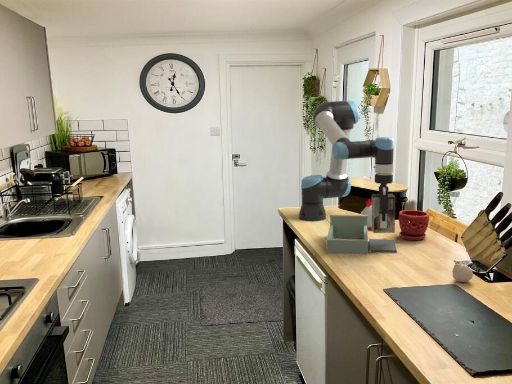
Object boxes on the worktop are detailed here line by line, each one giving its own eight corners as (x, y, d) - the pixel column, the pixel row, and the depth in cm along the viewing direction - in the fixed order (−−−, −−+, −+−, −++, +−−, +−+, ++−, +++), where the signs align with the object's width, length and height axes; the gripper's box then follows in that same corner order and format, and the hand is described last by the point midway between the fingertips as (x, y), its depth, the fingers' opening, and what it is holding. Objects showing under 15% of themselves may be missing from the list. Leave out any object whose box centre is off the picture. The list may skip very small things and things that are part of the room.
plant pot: (423, 243, 202) (424, 217, 200) (394, 239, 210) (394, 213, 208) (431, 236, 212) (433, 211, 210) (404, 232, 220) (404, 208, 218)
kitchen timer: (353, 225, 235) (353, 197, 232) (374, 221, 241) (374, 194, 238) (370, 232, 223) (370, 202, 220) (392, 227, 228) (393, 198, 225)
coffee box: (392, 229, 201) (392, 193, 198) (394, 233, 195) (395, 196, 192) (371, 229, 202) (371, 193, 199) (373, 233, 196) (373, 196, 193)
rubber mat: (369, 241, 209) (369, 238, 208) (394, 241, 206) (394, 239, 206) (369, 251, 194) (369, 249, 194) (396, 252, 192) (396, 250, 192)
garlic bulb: (455, 276, 165) (456, 255, 163) (474, 280, 161) (475, 259, 159) (449, 282, 160) (450, 261, 158) (469, 286, 156) (470, 264, 154)
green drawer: (330, 235, 219) (329, 214, 216) (367, 236, 215) (367, 214, 212) (326, 253, 195) (326, 228, 192) (368, 254, 191) (368, 230, 188)
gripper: (374, 170, 204) (373, 219, 209) (375, 177, 185) (374, 231, 190) (391, 170, 202) (390, 219, 207) (394, 177, 183) (393, 232, 188)
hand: (382, 225), depth 198 cm, fingers closed on coffee box, 7 cm apart
